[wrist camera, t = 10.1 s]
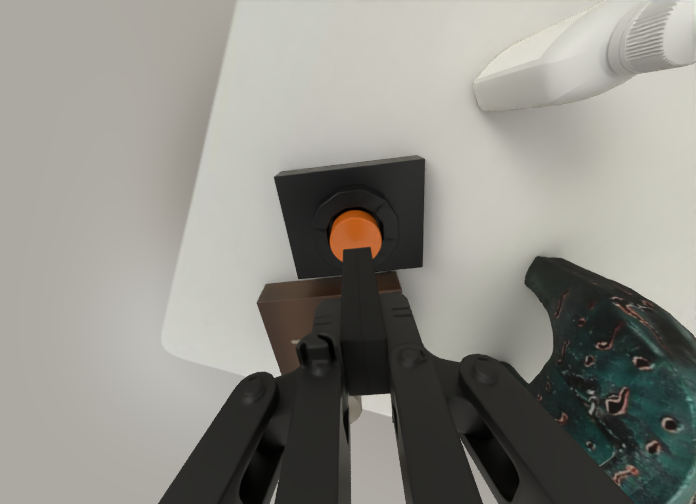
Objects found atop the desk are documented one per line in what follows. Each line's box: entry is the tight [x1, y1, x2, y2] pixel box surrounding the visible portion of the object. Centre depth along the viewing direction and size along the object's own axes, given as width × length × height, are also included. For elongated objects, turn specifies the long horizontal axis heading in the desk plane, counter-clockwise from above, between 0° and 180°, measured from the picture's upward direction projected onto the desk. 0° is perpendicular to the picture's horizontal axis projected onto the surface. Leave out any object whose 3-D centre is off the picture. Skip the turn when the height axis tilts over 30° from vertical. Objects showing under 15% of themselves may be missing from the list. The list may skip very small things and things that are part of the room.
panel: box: [257, 272, 402, 375], centre depth 26 cm, size 13×10×3 cm
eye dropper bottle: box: [473, 0, 696, 112], centre depth 12 cm, size 4×6×12 cm
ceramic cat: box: [500, 256, 696, 504], centre depth 19 cm, size 20×6×20 cm, turn 175°
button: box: [330, 210, 382, 262], centre depth 18 cm, size 4×4×2 cm
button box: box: [274, 155, 425, 279], centre depth 21 cm, size 11×9×4 cm
